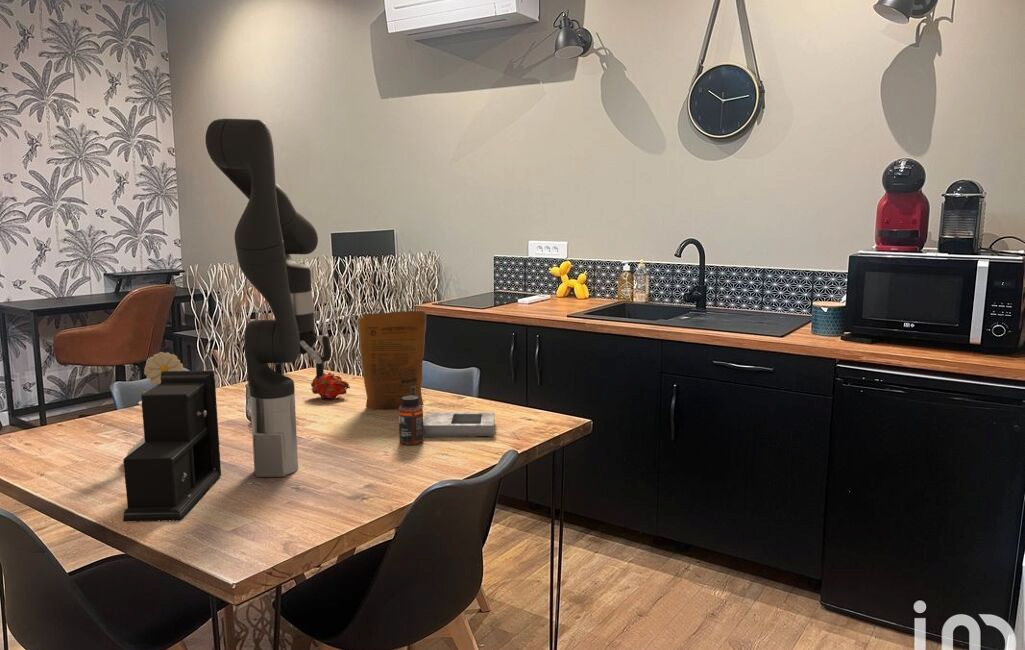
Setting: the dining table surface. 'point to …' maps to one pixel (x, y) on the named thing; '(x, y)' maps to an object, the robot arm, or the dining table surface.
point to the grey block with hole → (458, 424)
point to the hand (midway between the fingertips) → (300, 378)
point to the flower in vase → (158, 375)
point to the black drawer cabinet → (174, 448)
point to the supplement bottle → (410, 421)
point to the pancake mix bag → (392, 356)
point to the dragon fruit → (329, 386)
